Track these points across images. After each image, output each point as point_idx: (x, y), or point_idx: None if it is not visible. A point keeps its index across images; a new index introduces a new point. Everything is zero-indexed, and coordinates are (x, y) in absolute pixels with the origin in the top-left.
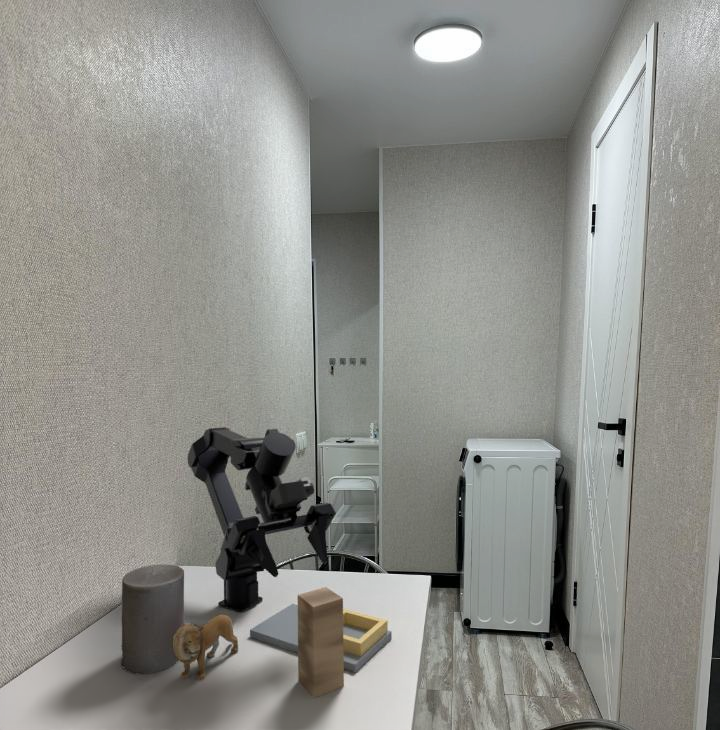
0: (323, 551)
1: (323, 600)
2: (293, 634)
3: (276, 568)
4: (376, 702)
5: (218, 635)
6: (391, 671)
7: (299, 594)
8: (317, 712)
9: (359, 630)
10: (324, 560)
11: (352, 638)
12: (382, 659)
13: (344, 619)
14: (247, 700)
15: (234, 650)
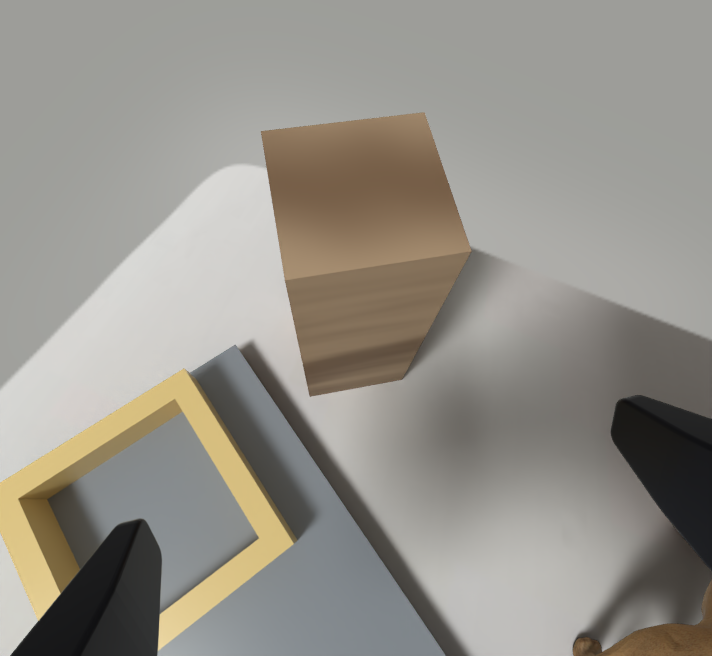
0: (98, 597)
1: (359, 147)
2: (360, 642)
3: (658, 416)
4: (251, 228)
5: (706, 617)
6: (146, 318)
7: (459, 252)
8: None
9: None
10: (145, 545)
11: (192, 413)
12: (131, 382)
13: None
14: (542, 353)
15: (589, 641)
